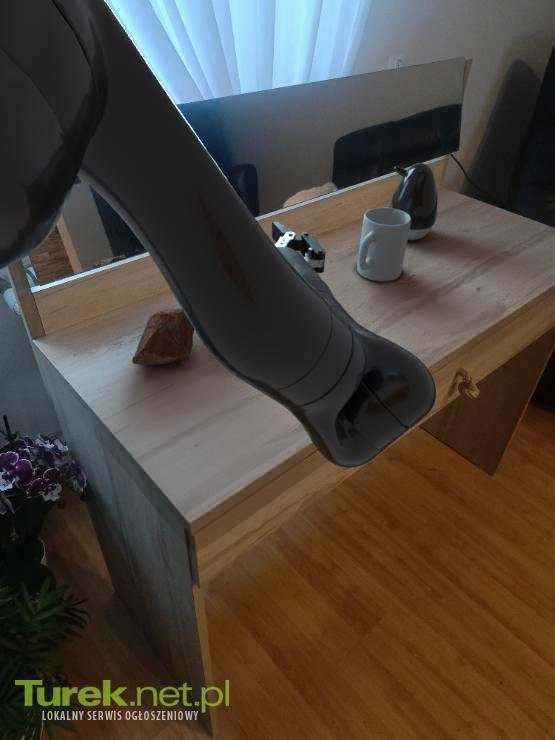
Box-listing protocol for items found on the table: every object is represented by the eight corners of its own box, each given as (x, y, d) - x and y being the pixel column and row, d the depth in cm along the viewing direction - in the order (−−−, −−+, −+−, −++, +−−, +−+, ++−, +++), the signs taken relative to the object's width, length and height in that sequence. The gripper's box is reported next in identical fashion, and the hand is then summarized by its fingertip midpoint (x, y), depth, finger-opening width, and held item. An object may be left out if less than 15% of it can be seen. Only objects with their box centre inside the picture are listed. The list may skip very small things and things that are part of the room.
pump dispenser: (384, 223, 113) (395, 154, 103) (430, 227, 112) (446, 157, 102) (382, 242, 105) (394, 169, 96) (432, 247, 104) (449, 174, 94)
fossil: (193, 303, 79) (181, 276, 70) (223, 342, 78) (216, 320, 68) (126, 350, 77) (105, 328, 68) (157, 391, 76) (139, 375, 66)
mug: (371, 256, 100) (378, 203, 93) (408, 269, 96) (420, 215, 89) (338, 278, 93) (344, 223, 86) (377, 294, 89) (387, 237, 82)
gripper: (356, 255, 50) (295, 197, 62) (220, 277, 46) (183, 211, 58) (348, 316, 55) (293, 252, 66) (224, 341, 51) (189, 268, 62)
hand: (242, 233), depth 62 cm, fingers open, 8 cm apart
